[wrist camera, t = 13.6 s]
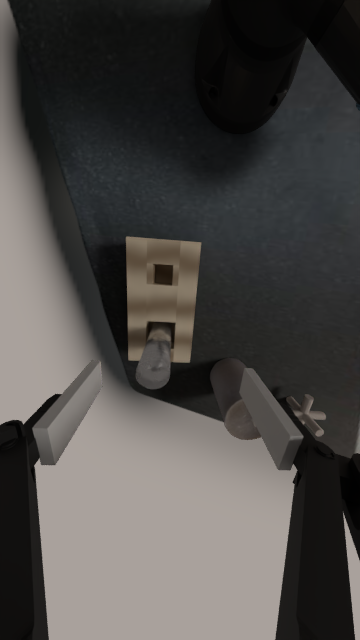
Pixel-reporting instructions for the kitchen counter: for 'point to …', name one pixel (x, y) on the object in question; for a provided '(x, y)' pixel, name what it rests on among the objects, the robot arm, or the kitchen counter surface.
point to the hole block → (161, 292)
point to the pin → (156, 357)
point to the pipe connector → (307, 413)
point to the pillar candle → (232, 398)
